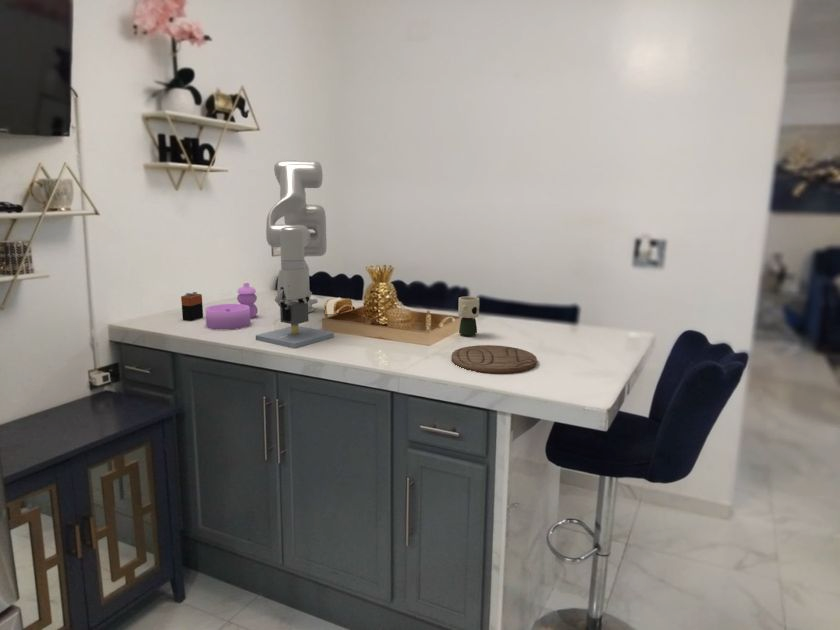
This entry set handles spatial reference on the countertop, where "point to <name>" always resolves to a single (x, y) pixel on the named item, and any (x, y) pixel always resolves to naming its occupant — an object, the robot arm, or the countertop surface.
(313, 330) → the hub panel
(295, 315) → the dark gray cube
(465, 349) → the trivet
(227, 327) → the container set
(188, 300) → the battery
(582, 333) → the countertop surface
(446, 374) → the countertop surface
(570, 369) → the countertop surface
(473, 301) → the character mug
